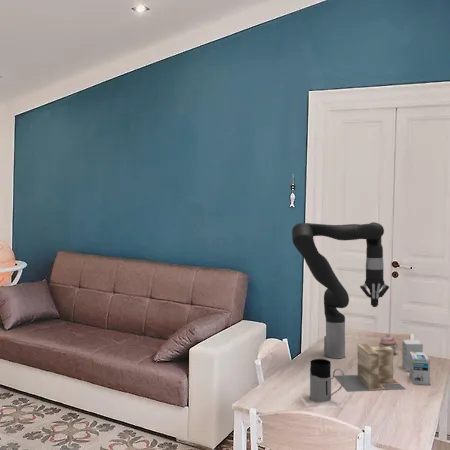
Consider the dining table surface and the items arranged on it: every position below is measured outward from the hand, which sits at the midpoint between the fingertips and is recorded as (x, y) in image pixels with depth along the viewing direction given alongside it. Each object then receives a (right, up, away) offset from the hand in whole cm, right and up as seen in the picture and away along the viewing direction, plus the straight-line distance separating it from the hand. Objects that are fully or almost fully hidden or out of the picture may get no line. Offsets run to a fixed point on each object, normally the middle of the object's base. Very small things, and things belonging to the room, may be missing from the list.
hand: (374, 306), depth 235 cm
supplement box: (+18, -29, +3) cm, 34 cm away
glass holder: (-28, -31, -34) cm, 54 cm away
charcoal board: (-7, -30, -16) cm, 34 cm away
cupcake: (+15, -28, +28) cm, 42 cm away
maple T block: (-3, -29, -15) cm, 33 cm away
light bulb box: (+16, -30, -11) cm, 35 cm away
